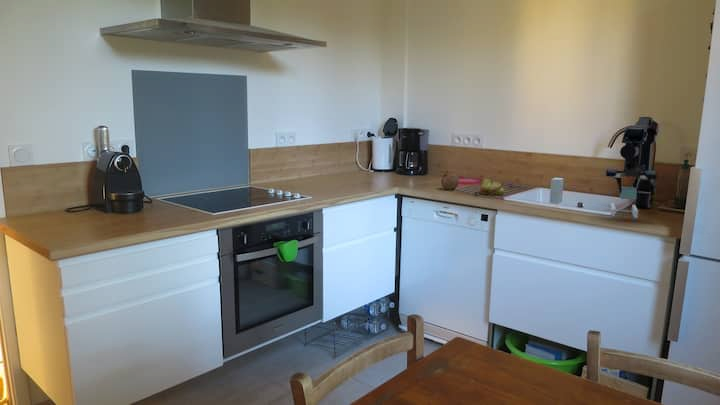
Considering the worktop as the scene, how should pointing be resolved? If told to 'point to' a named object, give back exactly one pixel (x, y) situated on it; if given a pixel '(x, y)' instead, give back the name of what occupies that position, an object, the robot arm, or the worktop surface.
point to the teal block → (628, 193)
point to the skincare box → (556, 190)
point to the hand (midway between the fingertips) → (628, 194)
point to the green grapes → (491, 187)
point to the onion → (449, 181)
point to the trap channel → (633, 211)
